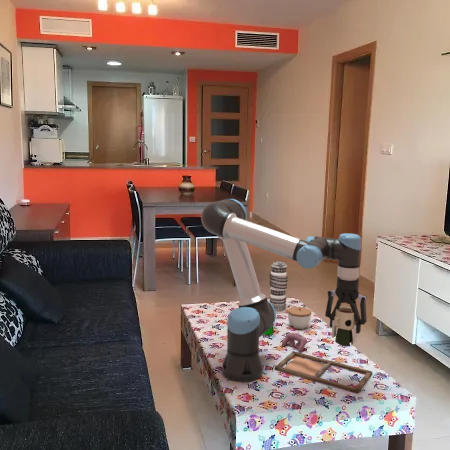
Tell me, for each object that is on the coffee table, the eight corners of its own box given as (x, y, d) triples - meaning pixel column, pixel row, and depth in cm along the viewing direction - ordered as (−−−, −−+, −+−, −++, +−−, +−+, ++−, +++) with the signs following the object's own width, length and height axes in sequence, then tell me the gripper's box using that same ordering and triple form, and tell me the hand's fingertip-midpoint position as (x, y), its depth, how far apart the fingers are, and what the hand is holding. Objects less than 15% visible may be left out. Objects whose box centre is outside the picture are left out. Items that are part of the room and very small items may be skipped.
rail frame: (358, 393, 169) (358, 390, 169) (274, 369, 185) (274, 367, 185) (372, 374, 183) (372, 371, 183) (293, 353, 200) (293, 351, 199)
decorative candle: (266, 307, 254) (268, 260, 249) (284, 307, 255) (285, 260, 250) (270, 313, 245) (271, 265, 240) (288, 313, 246) (290, 264, 241)
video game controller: (305, 354, 203) (309, 337, 204) (299, 352, 200) (304, 335, 201) (285, 347, 209) (290, 331, 211) (279, 345, 206) (284, 329, 207)
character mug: (341, 351, 172) (343, 315, 170) (326, 344, 178) (327, 309, 176) (361, 344, 178) (364, 309, 176) (346, 337, 184) (348, 304, 182)
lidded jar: (308, 322, 234) (309, 303, 232) (312, 330, 224) (313, 311, 222) (285, 322, 234) (286, 303, 232) (289, 330, 223) (290, 311, 222)
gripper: (379, 279, 172) (375, 341, 176) (324, 270, 182) (321, 329, 186) (373, 284, 165) (369, 348, 169) (317, 275, 176) (314, 335, 180)
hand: (344, 338), depth 178 cm, fingers closed on character mug, 7 cm apart
